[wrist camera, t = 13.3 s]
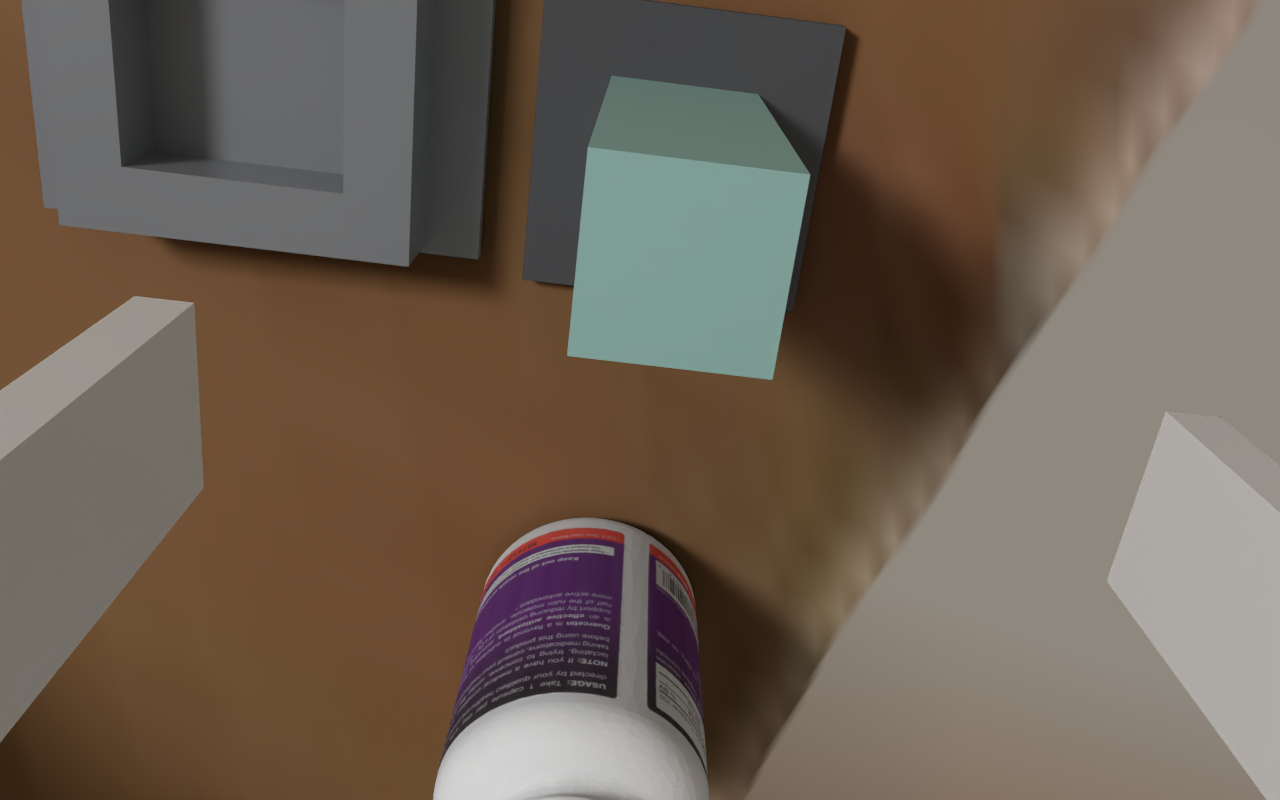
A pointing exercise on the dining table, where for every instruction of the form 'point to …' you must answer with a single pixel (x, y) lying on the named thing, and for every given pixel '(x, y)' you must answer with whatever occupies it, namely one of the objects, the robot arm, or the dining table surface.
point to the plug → (686, 230)
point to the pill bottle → (580, 674)
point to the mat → (673, 53)
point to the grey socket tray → (267, 121)
